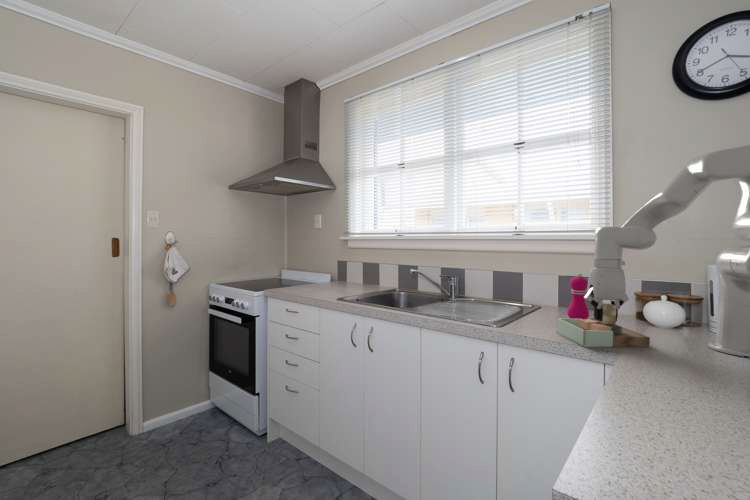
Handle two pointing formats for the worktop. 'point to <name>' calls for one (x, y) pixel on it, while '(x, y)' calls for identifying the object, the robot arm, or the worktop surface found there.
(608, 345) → the tray
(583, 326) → the tile
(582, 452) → the worktop surface
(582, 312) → the pepper mill
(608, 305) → the scraper
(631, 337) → the board
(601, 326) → the tile
